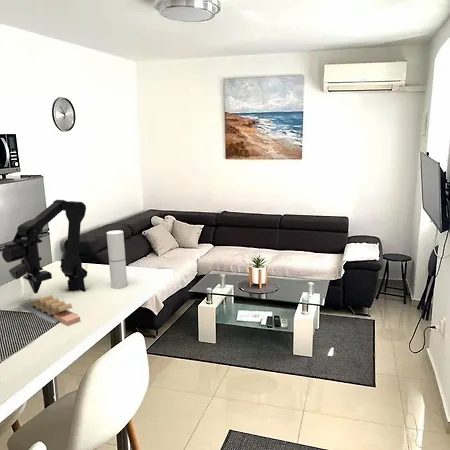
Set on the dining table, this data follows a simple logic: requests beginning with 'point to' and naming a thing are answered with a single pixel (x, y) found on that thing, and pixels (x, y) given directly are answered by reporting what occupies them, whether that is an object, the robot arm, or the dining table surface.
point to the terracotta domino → (67, 317)
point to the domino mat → (39, 312)
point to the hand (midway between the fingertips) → (35, 293)
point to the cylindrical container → (117, 259)
